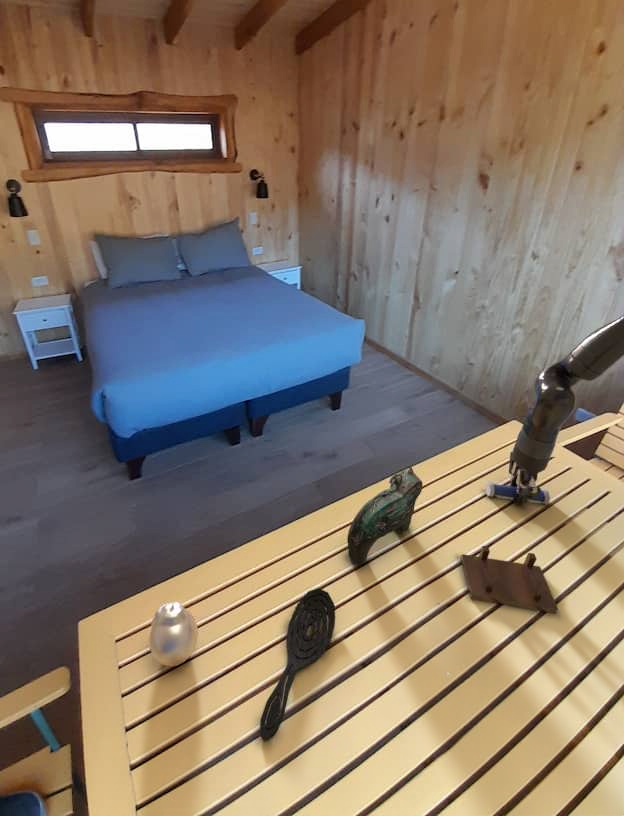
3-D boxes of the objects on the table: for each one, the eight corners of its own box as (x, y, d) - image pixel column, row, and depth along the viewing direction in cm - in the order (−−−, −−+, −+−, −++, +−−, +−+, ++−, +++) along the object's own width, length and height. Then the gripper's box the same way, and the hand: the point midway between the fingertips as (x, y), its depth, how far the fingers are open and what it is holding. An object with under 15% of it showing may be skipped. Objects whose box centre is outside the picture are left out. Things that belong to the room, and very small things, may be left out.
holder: (537, 570, 88) (547, 550, 85) (556, 613, 80) (567, 593, 77) (460, 558, 91) (466, 538, 88) (470, 598, 83) (477, 578, 80)
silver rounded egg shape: (203, 619, 80) (198, 589, 76) (196, 675, 72) (190, 646, 67) (158, 619, 81) (151, 589, 76) (146, 676, 72) (137, 646, 68)
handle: (541, 495, 106) (545, 486, 104) (547, 506, 103) (551, 497, 101) (484, 488, 108) (487, 478, 107) (488, 499, 105) (491, 489, 103)
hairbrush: (241, 715, 65) (306, 577, 83) (242, 724, 67) (305, 587, 85) (286, 750, 61) (343, 598, 80) (286, 759, 63) (342, 608, 81)
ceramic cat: (399, 512, 102) (410, 453, 93) (420, 531, 97) (434, 470, 88) (340, 552, 93) (347, 490, 84) (360, 575, 88) (370, 512, 79)
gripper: (564, 470, 91) (541, 522, 99) (538, 430, 103) (520, 479, 111) (527, 466, 92) (508, 517, 100) (507, 427, 104) (491, 475, 112)
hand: (514, 497), depth 105 cm, fingers closed on handle, 3 cm apart
